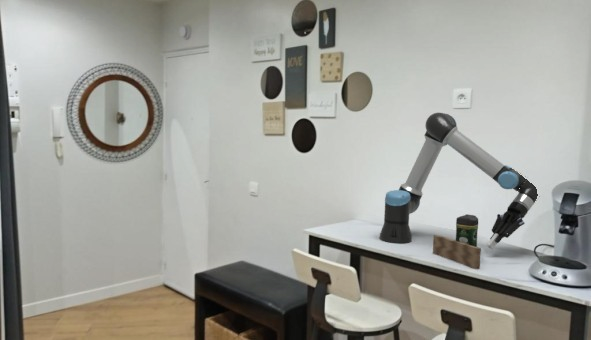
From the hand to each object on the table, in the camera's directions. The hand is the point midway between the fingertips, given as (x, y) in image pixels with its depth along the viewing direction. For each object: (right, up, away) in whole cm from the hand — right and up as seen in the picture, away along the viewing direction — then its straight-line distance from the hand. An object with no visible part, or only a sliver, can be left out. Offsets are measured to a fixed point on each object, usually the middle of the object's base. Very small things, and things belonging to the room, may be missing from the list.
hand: (489, 246), depth 194 cm
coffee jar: (-12, -5, -5) cm, 14 cm away
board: (-17, -4, -7) cm, 20 cm away
